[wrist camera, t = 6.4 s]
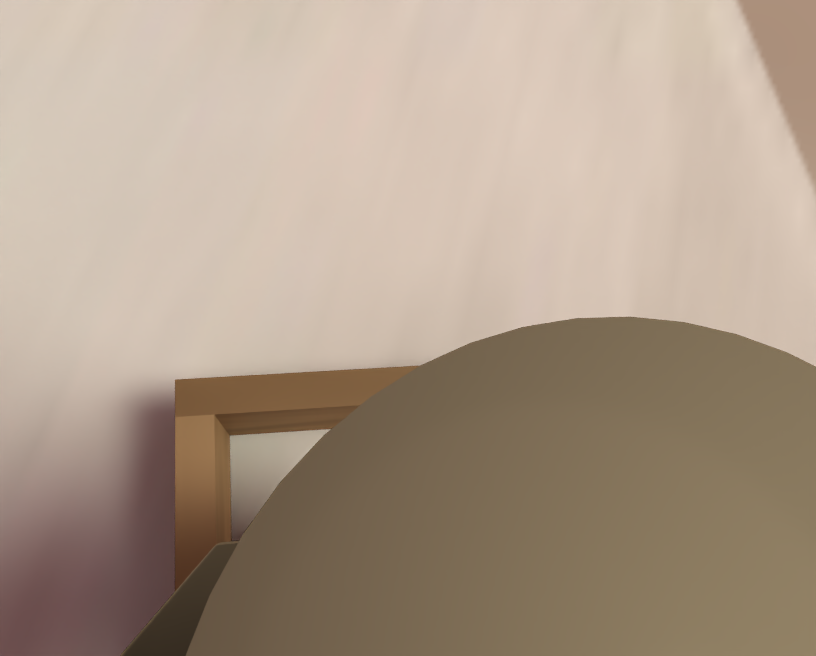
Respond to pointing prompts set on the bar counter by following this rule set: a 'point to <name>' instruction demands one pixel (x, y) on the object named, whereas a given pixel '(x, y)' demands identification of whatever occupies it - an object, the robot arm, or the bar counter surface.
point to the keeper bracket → (247, 414)
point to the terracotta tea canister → (546, 507)
